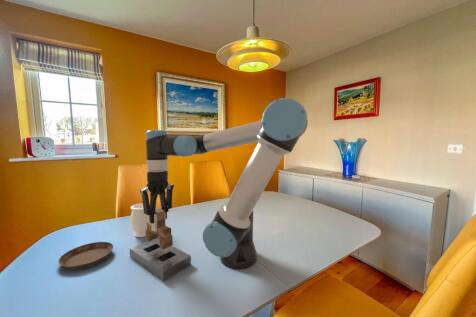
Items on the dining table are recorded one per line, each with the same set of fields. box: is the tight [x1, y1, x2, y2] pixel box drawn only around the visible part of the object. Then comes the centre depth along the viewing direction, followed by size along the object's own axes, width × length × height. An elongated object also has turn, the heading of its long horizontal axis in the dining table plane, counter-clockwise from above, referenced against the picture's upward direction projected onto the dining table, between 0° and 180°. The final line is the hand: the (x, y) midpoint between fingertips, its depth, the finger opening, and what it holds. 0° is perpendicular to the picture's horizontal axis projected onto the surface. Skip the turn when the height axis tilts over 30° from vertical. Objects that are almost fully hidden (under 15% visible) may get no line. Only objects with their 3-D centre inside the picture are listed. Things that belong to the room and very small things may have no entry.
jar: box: [130, 202, 150, 238], centre depth 103 cm, size 11×10×15 cm
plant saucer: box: [58, 241, 114, 271], centre depth 81 cm, size 18×18×3 cm
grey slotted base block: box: [129, 237, 192, 282], centre depth 80 cm, size 24×12×4 cm, turn 53°
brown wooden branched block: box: [145, 208, 174, 249], centre depth 79 cm, size 12×4×13 cm, turn 53°
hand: (158, 228), depth 79 cm, fingers closed on brown wooden branched block, 3 cm apart
